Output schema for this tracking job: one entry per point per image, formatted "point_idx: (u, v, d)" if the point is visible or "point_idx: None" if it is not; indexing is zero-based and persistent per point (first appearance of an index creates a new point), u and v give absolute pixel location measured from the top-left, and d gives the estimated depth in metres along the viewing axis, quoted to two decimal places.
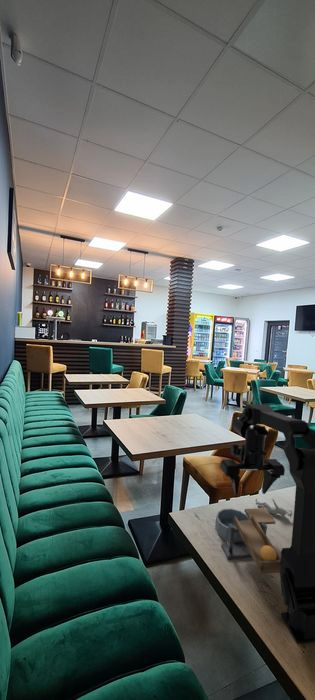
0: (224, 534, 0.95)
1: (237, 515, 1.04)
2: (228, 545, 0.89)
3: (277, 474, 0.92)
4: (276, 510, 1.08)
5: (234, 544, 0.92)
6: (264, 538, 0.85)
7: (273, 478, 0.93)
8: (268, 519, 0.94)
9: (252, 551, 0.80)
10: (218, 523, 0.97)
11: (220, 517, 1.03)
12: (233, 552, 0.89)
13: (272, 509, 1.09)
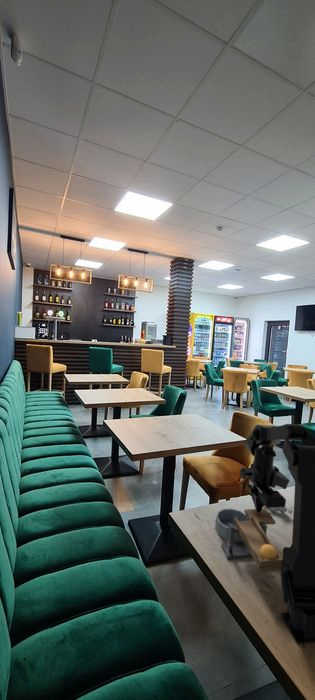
0: (224, 534, 0.95)
1: (237, 515, 1.04)
2: (228, 545, 0.89)
3: (262, 501, 0.90)
4: (277, 508, 1.10)
5: (234, 544, 0.92)
6: (264, 537, 0.85)
7: (253, 495, 0.96)
8: (268, 519, 0.94)
9: (252, 550, 0.80)
10: (218, 523, 0.97)
11: (220, 517, 1.03)
12: (233, 552, 0.89)
13: (273, 507, 1.10)
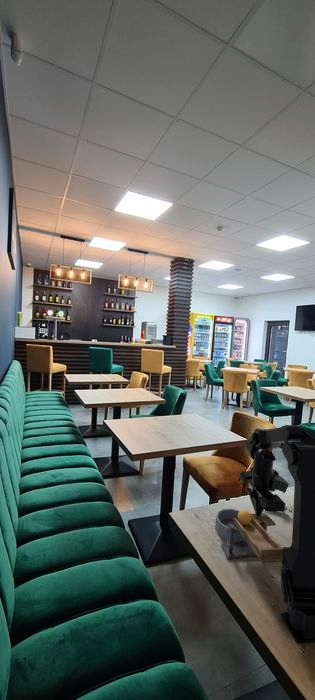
0: (224, 534, 0.95)
1: (237, 515, 1.04)
2: (228, 545, 0.89)
3: (261, 505, 0.90)
4: None
5: (234, 544, 0.92)
6: (264, 534, 0.86)
7: (253, 499, 0.96)
8: (268, 521, 0.94)
9: (252, 544, 0.80)
10: (218, 523, 0.97)
11: (220, 517, 1.03)
12: (233, 552, 0.89)
13: None
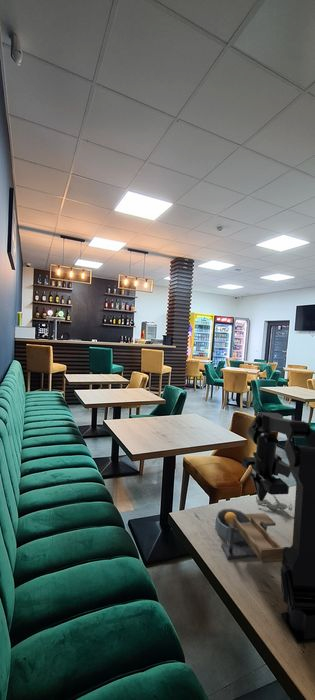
0: (224, 534, 0.95)
1: (237, 515, 1.04)
2: (228, 545, 0.89)
3: (265, 488, 0.89)
4: (277, 505, 1.11)
5: (234, 544, 0.92)
6: (264, 534, 0.86)
7: (256, 483, 0.95)
8: (268, 521, 0.94)
9: (252, 543, 0.80)
10: (218, 523, 0.97)
11: (220, 517, 1.03)
12: (233, 552, 0.89)
13: (273, 505, 1.12)
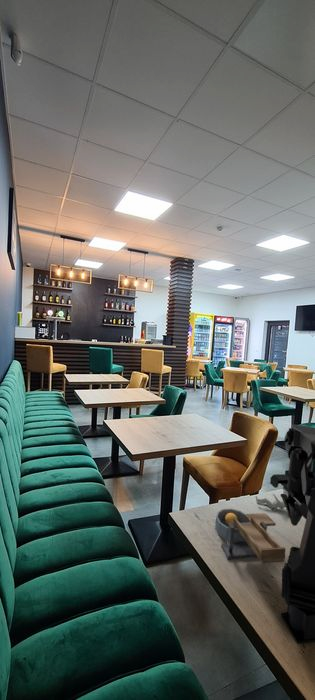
0: (224, 534, 0.95)
1: (237, 515, 1.04)
2: (228, 545, 0.89)
3: (302, 514, 0.78)
4: (277, 504, 1.12)
5: (234, 544, 0.92)
6: (264, 534, 0.86)
7: (289, 506, 0.83)
8: (268, 521, 0.94)
9: (252, 543, 0.80)
10: (218, 523, 0.97)
11: (220, 517, 1.03)
12: (233, 552, 0.89)
13: (273, 504, 1.12)
